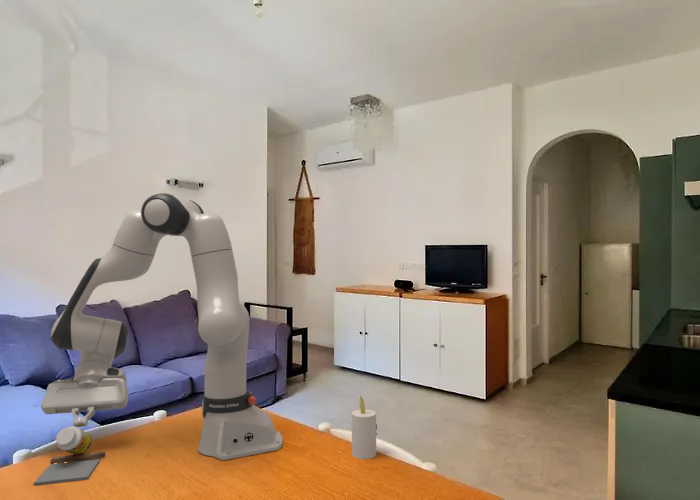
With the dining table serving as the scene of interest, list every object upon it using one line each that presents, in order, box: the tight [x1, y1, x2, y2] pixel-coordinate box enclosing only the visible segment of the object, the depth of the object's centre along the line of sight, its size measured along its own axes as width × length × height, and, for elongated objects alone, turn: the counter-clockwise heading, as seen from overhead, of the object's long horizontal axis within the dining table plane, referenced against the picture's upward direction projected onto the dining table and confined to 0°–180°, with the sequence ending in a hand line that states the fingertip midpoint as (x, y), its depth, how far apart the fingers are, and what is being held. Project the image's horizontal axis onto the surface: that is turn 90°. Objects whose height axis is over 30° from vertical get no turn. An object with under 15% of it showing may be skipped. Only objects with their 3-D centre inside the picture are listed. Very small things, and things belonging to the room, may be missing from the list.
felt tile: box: [32, 459, 101, 486], centre depth 109 cm, size 11×10×1 cm
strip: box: [50, 451, 106, 464], centre depth 116 cm, size 12×2×1 cm, turn 105°
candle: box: [351, 395, 378, 460], centre depth 119 cm, size 6×6×15 cm
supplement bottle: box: [55, 426, 93, 455], centre depth 115 cm, size 6×6×10 cm
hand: (79, 425), depth 117 cm, fingers closed
